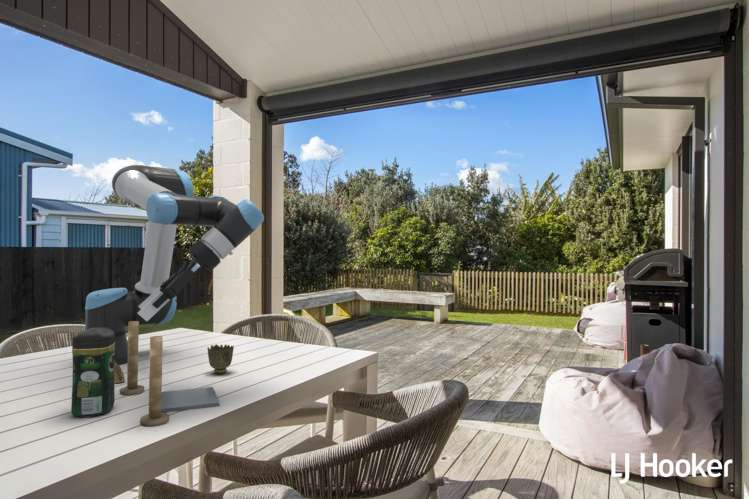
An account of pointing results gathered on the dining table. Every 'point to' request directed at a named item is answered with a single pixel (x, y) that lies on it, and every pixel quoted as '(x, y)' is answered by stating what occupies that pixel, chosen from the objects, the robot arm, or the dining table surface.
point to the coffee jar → (93, 372)
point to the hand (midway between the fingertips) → (142, 313)
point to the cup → (220, 357)
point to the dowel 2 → (155, 386)
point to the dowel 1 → (132, 361)
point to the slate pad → (188, 399)
